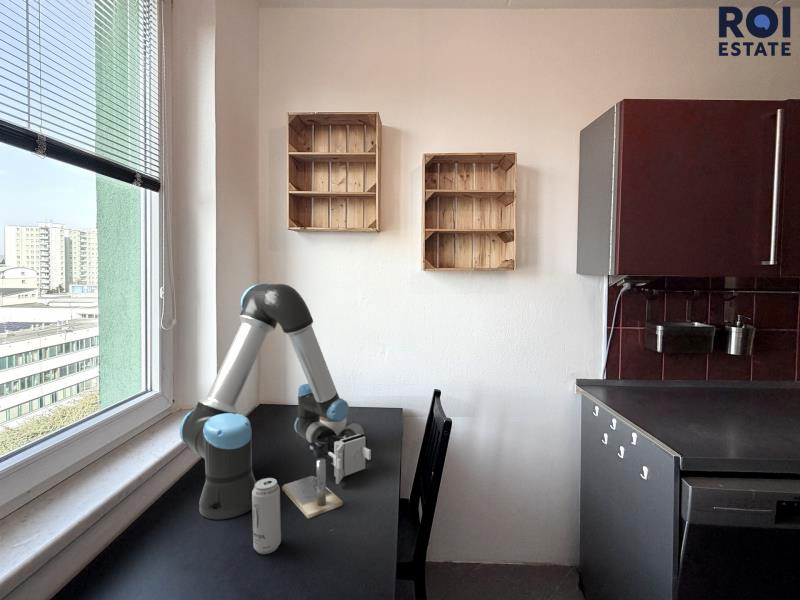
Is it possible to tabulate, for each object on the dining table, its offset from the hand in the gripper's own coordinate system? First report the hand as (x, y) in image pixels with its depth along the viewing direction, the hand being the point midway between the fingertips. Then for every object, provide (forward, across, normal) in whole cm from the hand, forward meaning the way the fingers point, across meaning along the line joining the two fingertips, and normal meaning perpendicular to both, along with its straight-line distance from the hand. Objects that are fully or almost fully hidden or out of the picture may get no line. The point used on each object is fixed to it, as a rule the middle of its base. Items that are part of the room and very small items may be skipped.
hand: (355, 459), depth 120 cm
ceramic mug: (-27, -13, -8) cm, 31 cm away
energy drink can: (+12, +30, -8) cm, 33 cm away
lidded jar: (-40, -14, -8) cm, 43 cm away
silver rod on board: (-3, +13, -7) cm, 15 cm away
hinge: (-4, 0, -6) cm, 8 cm away
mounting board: (-2, +13, -8) cm, 15 cm away
